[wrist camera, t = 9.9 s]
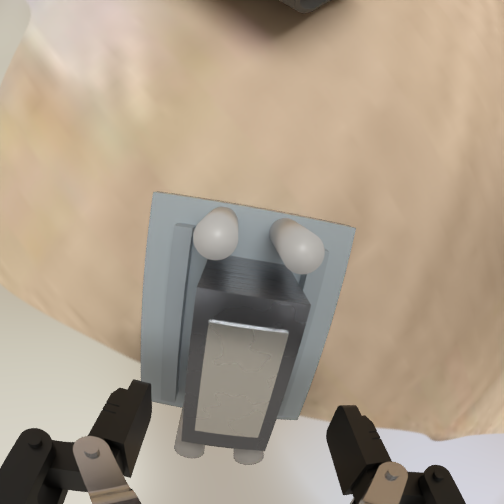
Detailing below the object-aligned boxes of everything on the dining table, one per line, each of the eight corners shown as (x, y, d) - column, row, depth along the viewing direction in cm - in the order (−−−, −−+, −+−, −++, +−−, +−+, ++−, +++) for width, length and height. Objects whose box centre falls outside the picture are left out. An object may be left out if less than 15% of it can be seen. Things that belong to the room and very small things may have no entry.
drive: (287, 265, 17) (312, 306, 11) (258, 387, 19) (265, 452, 13) (210, 252, 17) (196, 288, 11) (193, 378, 19) (181, 442, 13)
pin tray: (348, 225, 18) (396, 245, 12) (294, 410, 21) (308, 467, 15) (158, 191, 17) (120, 195, 11) (145, 389, 20) (123, 444, 14)
